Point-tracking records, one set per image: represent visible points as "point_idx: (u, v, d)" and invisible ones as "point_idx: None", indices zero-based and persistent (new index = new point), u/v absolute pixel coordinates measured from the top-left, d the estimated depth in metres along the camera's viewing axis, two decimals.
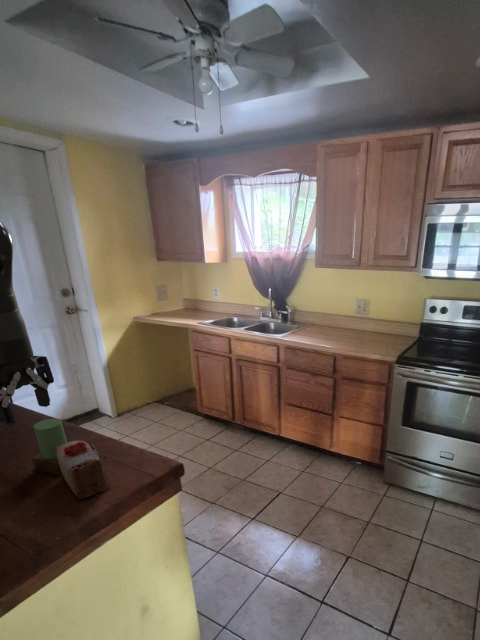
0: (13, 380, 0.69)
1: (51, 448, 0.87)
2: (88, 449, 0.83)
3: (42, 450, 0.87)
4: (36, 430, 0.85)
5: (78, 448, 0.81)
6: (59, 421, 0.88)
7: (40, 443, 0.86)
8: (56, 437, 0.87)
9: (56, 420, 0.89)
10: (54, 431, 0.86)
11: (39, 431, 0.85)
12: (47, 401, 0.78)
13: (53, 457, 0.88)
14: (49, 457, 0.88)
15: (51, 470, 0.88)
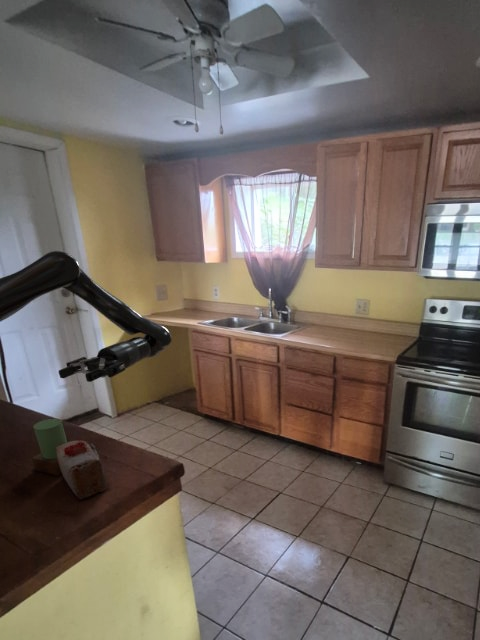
0: None
1: (51, 448, 0.87)
2: (88, 449, 0.83)
3: (42, 450, 0.87)
4: (36, 430, 0.85)
5: (78, 448, 0.81)
6: (59, 421, 0.88)
7: (40, 443, 0.86)
8: (56, 437, 0.87)
9: (56, 420, 0.89)
10: (54, 431, 0.86)
11: (39, 431, 0.85)
12: None
13: (53, 457, 0.88)
14: (49, 457, 0.88)
15: (51, 470, 0.88)
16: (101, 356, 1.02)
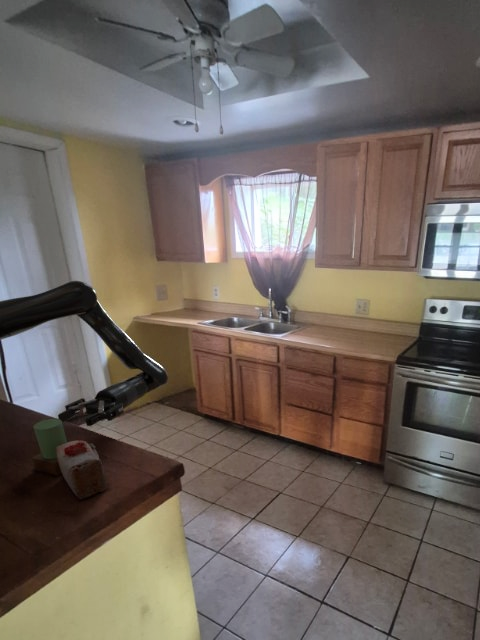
0: None
1: (51, 448, 0.87)
2: (88, 449, 0.83)
3: (42, 450, 0.87)
4: (36, 430, 0.85)
5: (78, 448, 0.81)
6: (59, 421, 0.88)
7: (40, 443, 0.86)
8: (56, 437, 0.87)
9: (56, 420, 0.89)
10: (54, 431, 0.86)
11: (39, 431, 0.85)
12: None
13: (53, 457, 0.88)
14: (49, 457, 0.88)
15: (51, 470, 0.88)
16: (99, 398, 1.04)
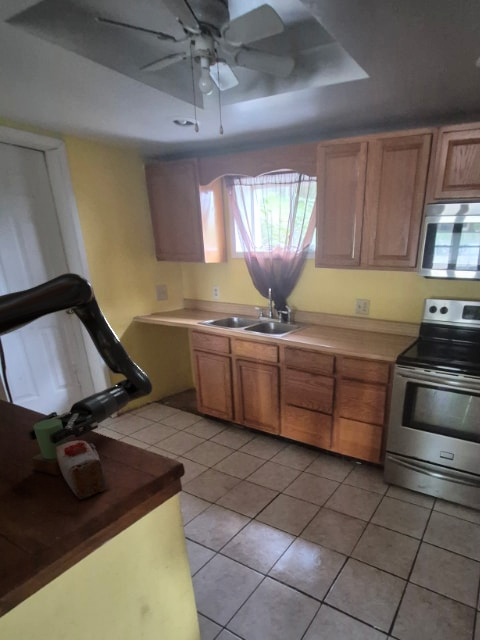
0: (80, 428, 0.94)
1: (51, 448, 0.87)
2: (88, 449, 0.83)
3: (42, 450, 0.87)
4: (36, 430, 0.85)
5: (78, 448, 0.81)
6: (59, 421, 0.88)
7: (40, 443, 0.86)
8: None
9: (56, 420, 0.89)
10: (54, 431, 0.86)
11: (39, 431, 0.85)
12: None
13: (53, 457, 0.88)
14: (49, 457, 0.88)
15: (51, 470, 0.88)
16: (75, 410, 0.96)
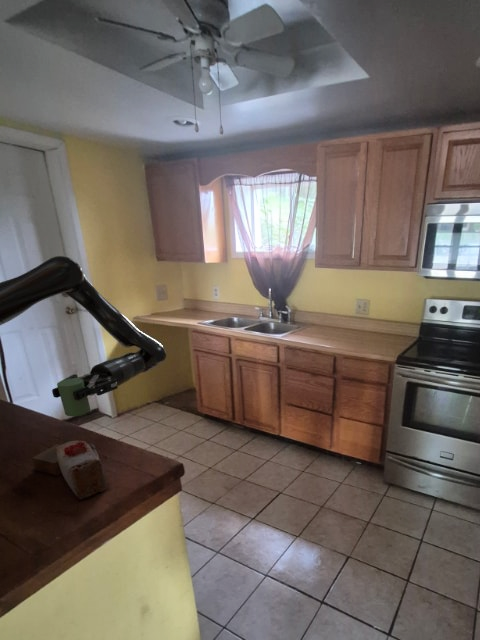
0: (100, 389, 0.97)
1: (74, 405, 0.90)
2: (88, 449, 0.83)
3: (65, 407, 0.90)
4: (60, 387, 0.88)
5: (78, 448, 0.81)
6: (81, 380, 0.92)
7: (63, 400, 0.90)
8: None
9: (78, 379, 0.92)
10: (76, 389, 0.89)
11: (62, 388, 0.88)
12: None
13: (76, 414, 0.91)
14: (72, 414, 0.91)
15: (51, 470, 0.88)
16: (95, 373, 1.00)
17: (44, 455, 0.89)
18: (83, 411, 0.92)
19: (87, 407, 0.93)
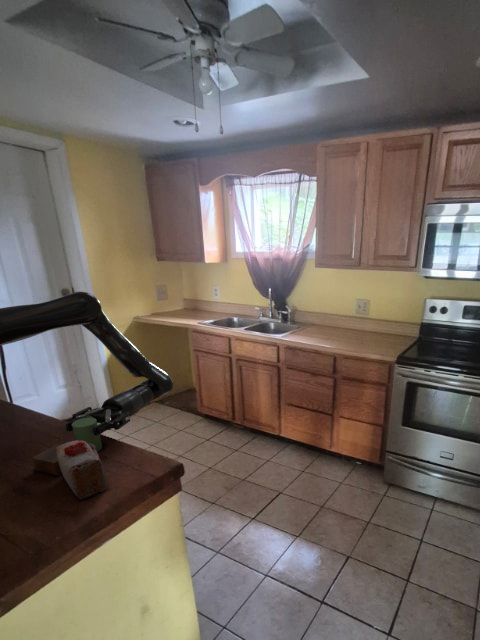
0: None
1: None
2: (88, 449, 0.83)
3: None
4: (74, 428, 0.94)
5: (78, 448, 0.81)
6: (94, 420, 0.97)
7: (77, 439, 0.95)
8: (92, 434, 0.95)
9: (91, 419, 0.97)
10: (90, 429, 0.95)
11: (77, 429, 0.93)
12: None
13: None
14: None
15: (51, 470, 0.88)
16: (106, 406, 1.05)
17: (44, 455, 0.89)
18: (96, 449, 0.97)
19: (100, 445, 0.98)
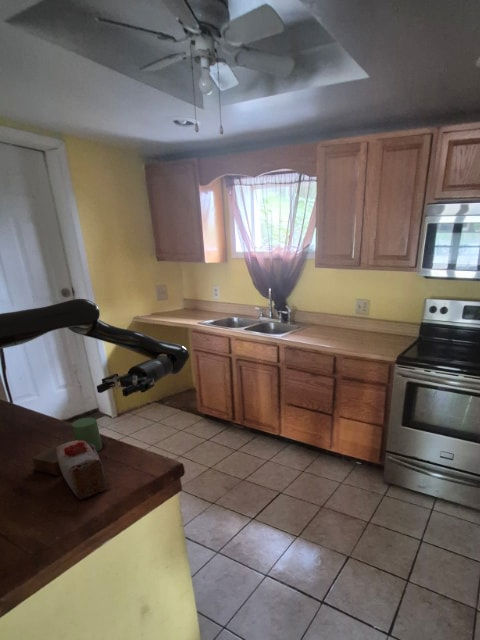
0: None
1: None
2: (88, 449, 0.83)
3: None
4: (74, 428, 0.94)
5: (78, 448, 0.81)
6: (94, 420, 0.97)
7: (77, 439, 0.95)
8: (92, 434, 0.95)
9: (91, 419, 0.97)
10: (90, 429, 0.95)
11: (77, 429, 0.93)
12: None
13: None
14: None
15: (51, 470, 0.88)
16: (132, 373, 1.14)
17: (44, 455, 0.89)
18: (96, 449, 0.97)
19: (100, 445, 0.98)
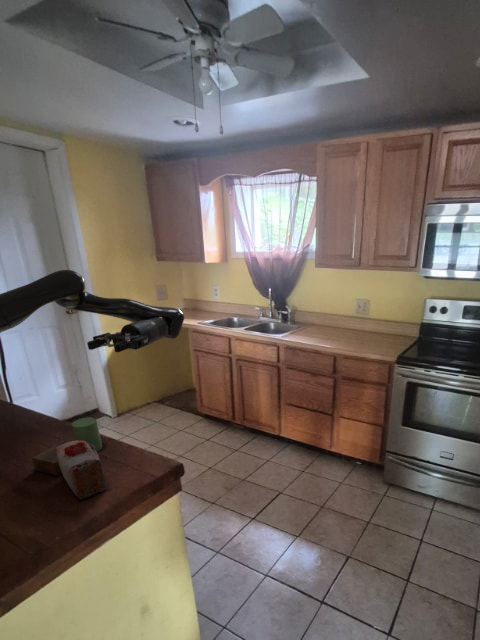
0: None
1: None
2: (88, 449, 0.83)
3: None
4: (74, 428, 0.94)
5: (78, 448, 0.81)
6: (94, 420, 0.97)
7: (77, 439, 0.95)
8: (92, 434, 0.95)
9: (91, 419, 0.97)
10: (90, 429, 0.95)
11: (77, 429, 0.93)
12: (93, 348, 1.01)
13: None
14: None
15: (51, 470, 0.88)
16: (124, 332, 1.09)
17: (44, 455, 0.89)
18: (96, 449, 0.97)
19: (100, 445, 0.98)
